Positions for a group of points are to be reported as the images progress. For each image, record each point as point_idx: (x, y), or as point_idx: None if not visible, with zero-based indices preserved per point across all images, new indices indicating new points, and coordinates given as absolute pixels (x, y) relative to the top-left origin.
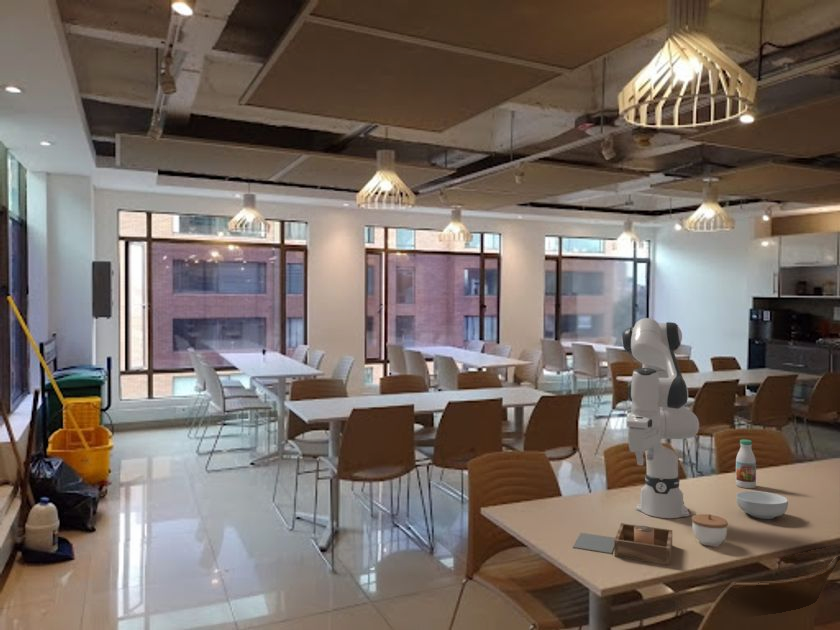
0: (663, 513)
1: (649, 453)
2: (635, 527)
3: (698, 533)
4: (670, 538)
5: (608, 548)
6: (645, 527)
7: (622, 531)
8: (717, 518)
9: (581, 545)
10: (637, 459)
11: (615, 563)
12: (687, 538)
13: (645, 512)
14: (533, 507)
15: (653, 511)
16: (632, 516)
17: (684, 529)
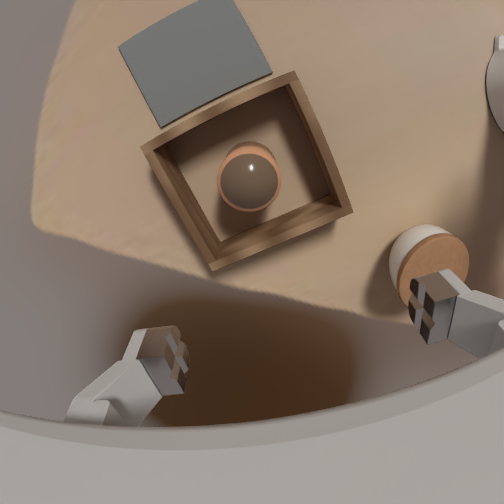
0: (499, 109)
1: (462, 314)
2: (237, 157)
3: (394, 252)
4: (282, 240)
5: (180, 102)
6: (264, 178)
7: (255, 97)
8: None
9: (141, 50)
10: (123, 363)
11: (122, 170)
12: (410, 203)
13: (491, 63)
14: None
15: (495, 84)
16: (457, 39)
17: (459, 173)
